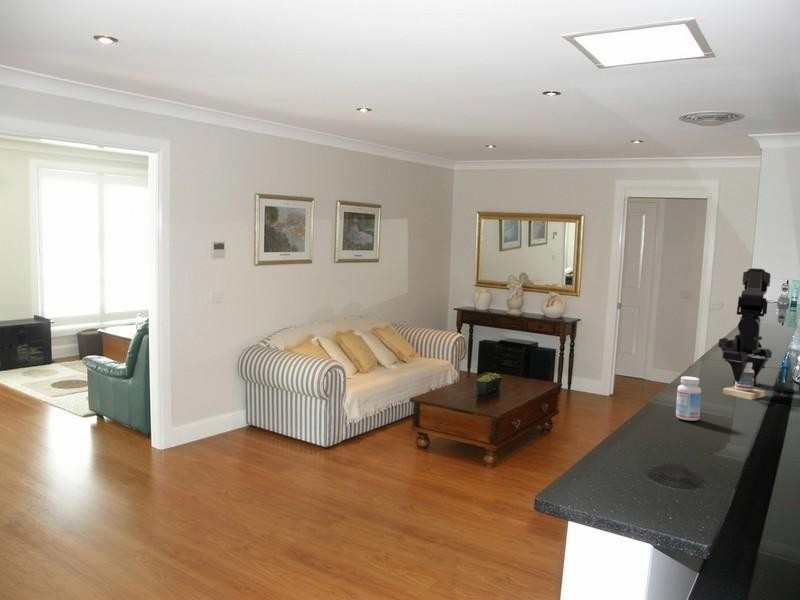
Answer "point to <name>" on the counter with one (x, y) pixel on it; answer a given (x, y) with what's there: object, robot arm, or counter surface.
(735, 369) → the robot arm
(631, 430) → the counter surface
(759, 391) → the maple block
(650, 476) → the counter surface
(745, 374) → the pill bottle
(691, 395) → the pill bottle
